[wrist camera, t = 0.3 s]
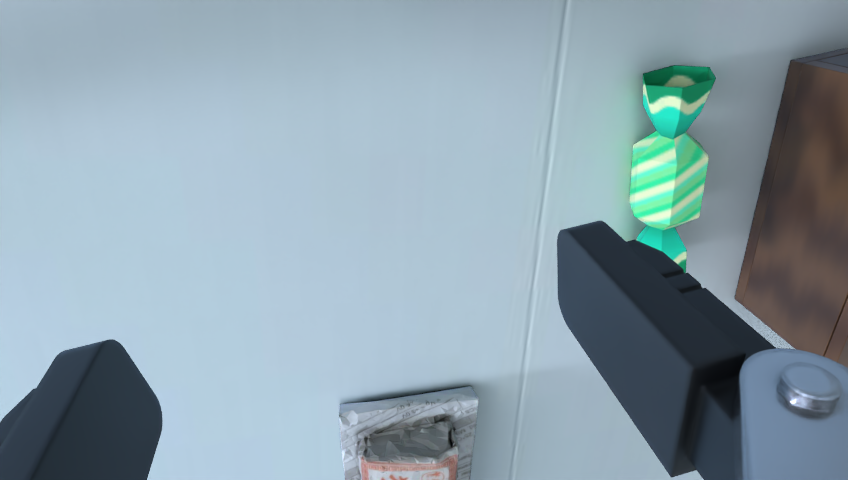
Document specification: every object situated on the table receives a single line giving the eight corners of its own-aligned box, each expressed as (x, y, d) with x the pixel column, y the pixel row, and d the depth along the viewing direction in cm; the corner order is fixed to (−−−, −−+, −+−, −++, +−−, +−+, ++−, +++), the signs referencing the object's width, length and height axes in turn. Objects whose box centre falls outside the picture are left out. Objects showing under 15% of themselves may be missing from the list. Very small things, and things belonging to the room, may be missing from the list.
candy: (623, 82, 25) (709, 89, 23) (652, 63, 27) (735, 68, 25) (612, 267, 32) (677, 289, 29) (636, 242, 34) (700, 261, 31)
